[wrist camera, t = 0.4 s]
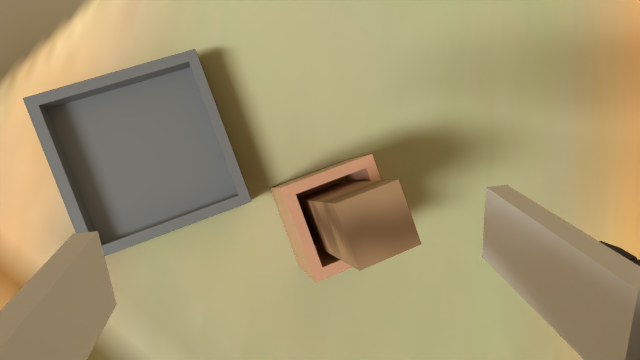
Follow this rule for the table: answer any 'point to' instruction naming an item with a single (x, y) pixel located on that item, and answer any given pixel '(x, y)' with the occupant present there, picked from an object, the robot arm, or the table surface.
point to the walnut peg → (360, 221)
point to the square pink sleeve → (294, 222)
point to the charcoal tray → (138, 151)
